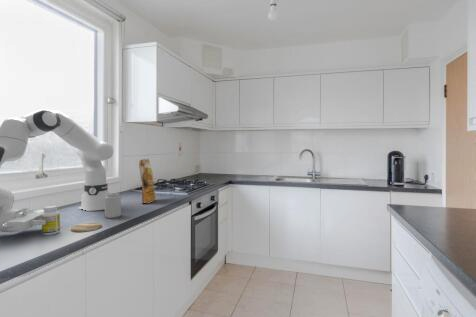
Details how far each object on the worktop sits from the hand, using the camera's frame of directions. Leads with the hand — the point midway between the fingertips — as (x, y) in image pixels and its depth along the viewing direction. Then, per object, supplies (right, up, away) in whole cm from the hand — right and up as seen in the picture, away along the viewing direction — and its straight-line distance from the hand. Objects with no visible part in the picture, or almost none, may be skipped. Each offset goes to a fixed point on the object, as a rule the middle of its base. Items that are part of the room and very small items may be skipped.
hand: (52, 218), depth 115 cm
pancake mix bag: (+19, -4, +65) cm, 68 cm away
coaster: (+11, -6, +7) cm, 14 cm away
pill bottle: (0, -6, 0) cm, 6 cm away
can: (+13, -5, +27) cm, 30 cm away
